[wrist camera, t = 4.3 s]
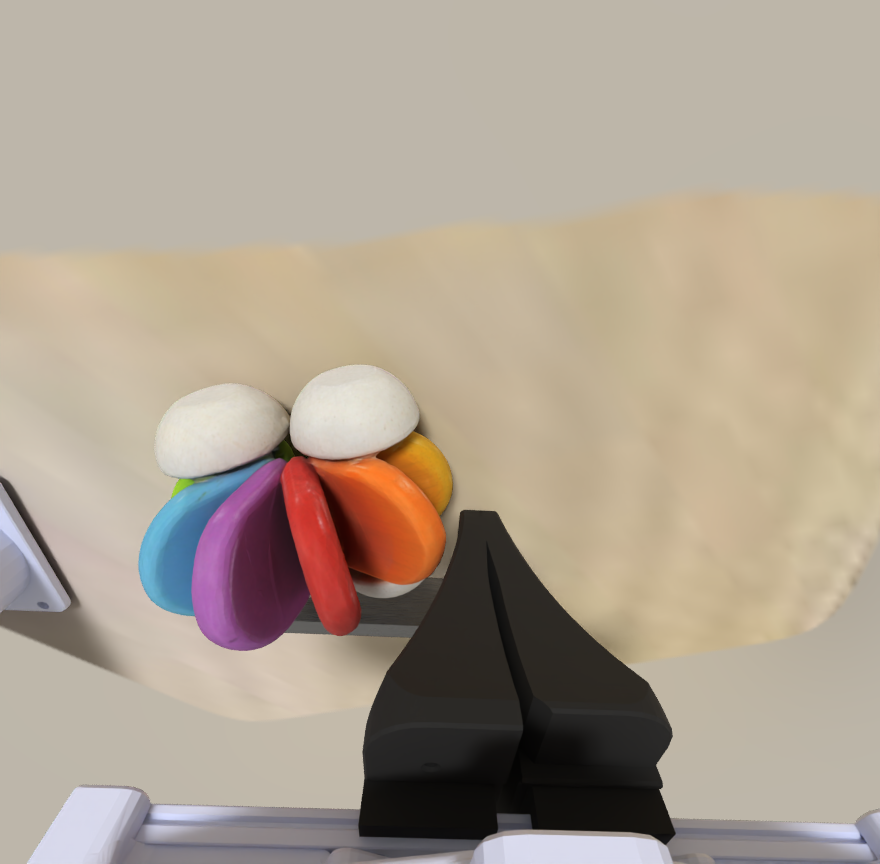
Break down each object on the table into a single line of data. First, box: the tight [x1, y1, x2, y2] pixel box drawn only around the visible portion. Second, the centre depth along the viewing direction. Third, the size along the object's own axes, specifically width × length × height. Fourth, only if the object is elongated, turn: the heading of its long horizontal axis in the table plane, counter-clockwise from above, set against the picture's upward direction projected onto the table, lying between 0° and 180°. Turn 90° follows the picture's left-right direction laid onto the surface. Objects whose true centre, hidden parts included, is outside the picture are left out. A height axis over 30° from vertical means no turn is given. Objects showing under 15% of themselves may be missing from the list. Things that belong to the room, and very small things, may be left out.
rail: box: [284, 578, 443, 638], centre depth 18 cm, size 10×1×2 cm, turn 87°
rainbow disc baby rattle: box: [139, 365, 453, 651], centre depth 12 cm, size 8×10×7 cm
